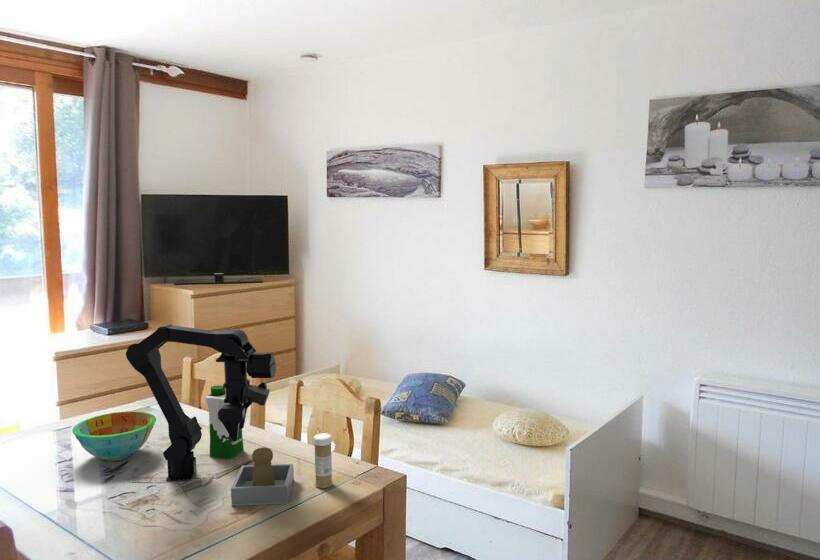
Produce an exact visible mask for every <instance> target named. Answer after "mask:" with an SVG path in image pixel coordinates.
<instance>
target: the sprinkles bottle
mask: <svg viewBox="0 0 820 560" xmlns="http://www.w3.org/2000/svg"><path fill="white" fill-rule="evenodd" d="M313 445H314V475H315V482H314V483H315V487H317V488H319V489H326V488H327V489H328V488H329V487H331V486H332V485H333V476H332V475H333V465H332V464H333V463H332V462H333V459H332V458H333V457H332V455H333V454H332V435H331V434H330V433H327V432H326V433H325V432H324V433H317V434H315V435H314V436H313Z"/></svg>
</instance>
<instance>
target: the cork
mask: <svg viewBox="0 0 820 560" xmlns="http://www.w3.org/2000/svg"><path fill="white" fill-rule="evenodd" d="M251 457H252V458H251V460H252V462H253V463H254V464H253V465H254V474H253V484H252V486H274V485H275V482H274V476H273V470H272V465H273V464H272V460H273V457H274V453H273V450H272V449H271V448H269V447H265V446H264V447H258V448H256V449H254V450H253V452H252V454H251Z"/></svg>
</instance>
